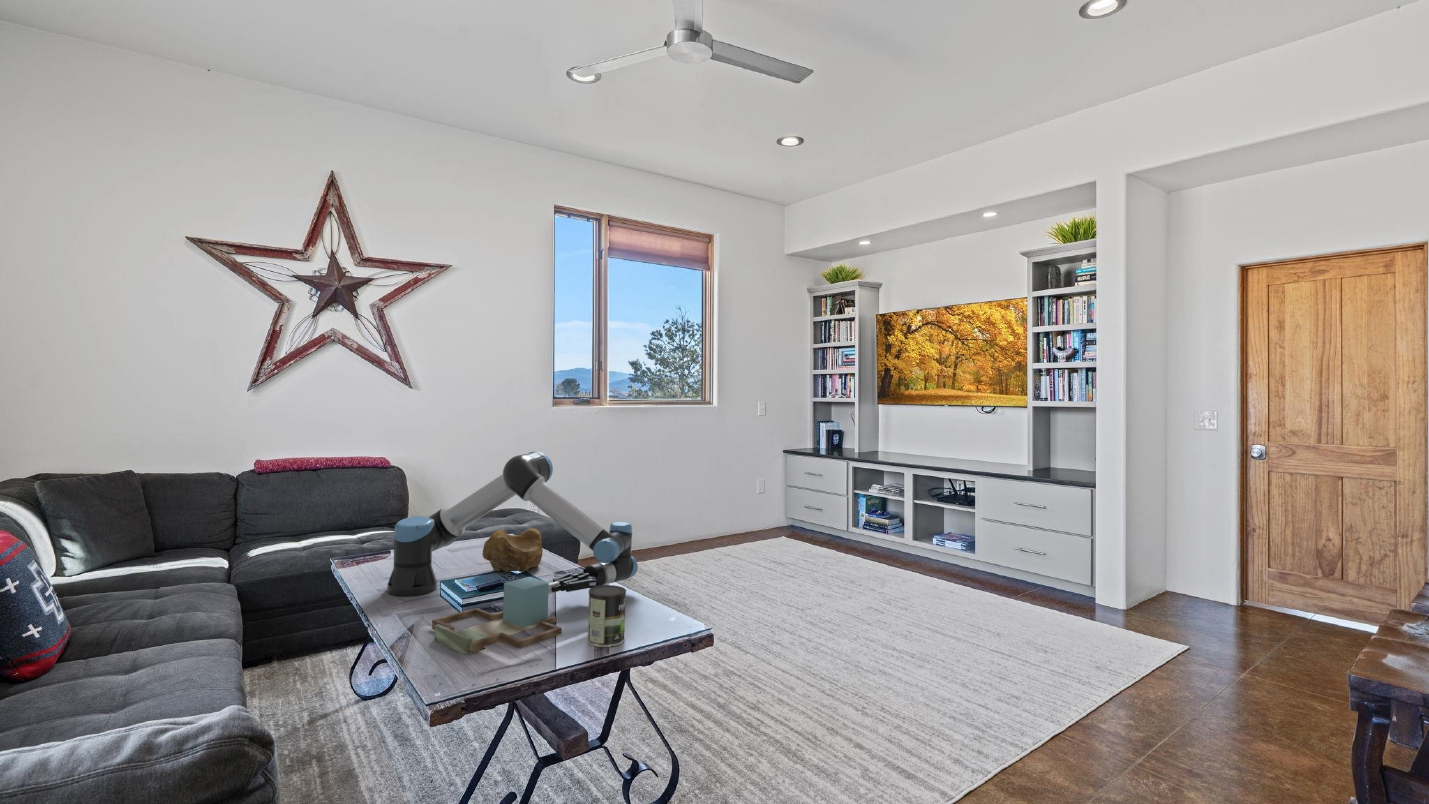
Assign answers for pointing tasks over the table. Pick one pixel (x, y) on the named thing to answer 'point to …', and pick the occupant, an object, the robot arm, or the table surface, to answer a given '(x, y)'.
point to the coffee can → (606, 615)
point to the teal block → (525, 601)
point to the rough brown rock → (513, 550)
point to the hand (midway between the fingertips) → (541, 590)
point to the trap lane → (488, 631)
